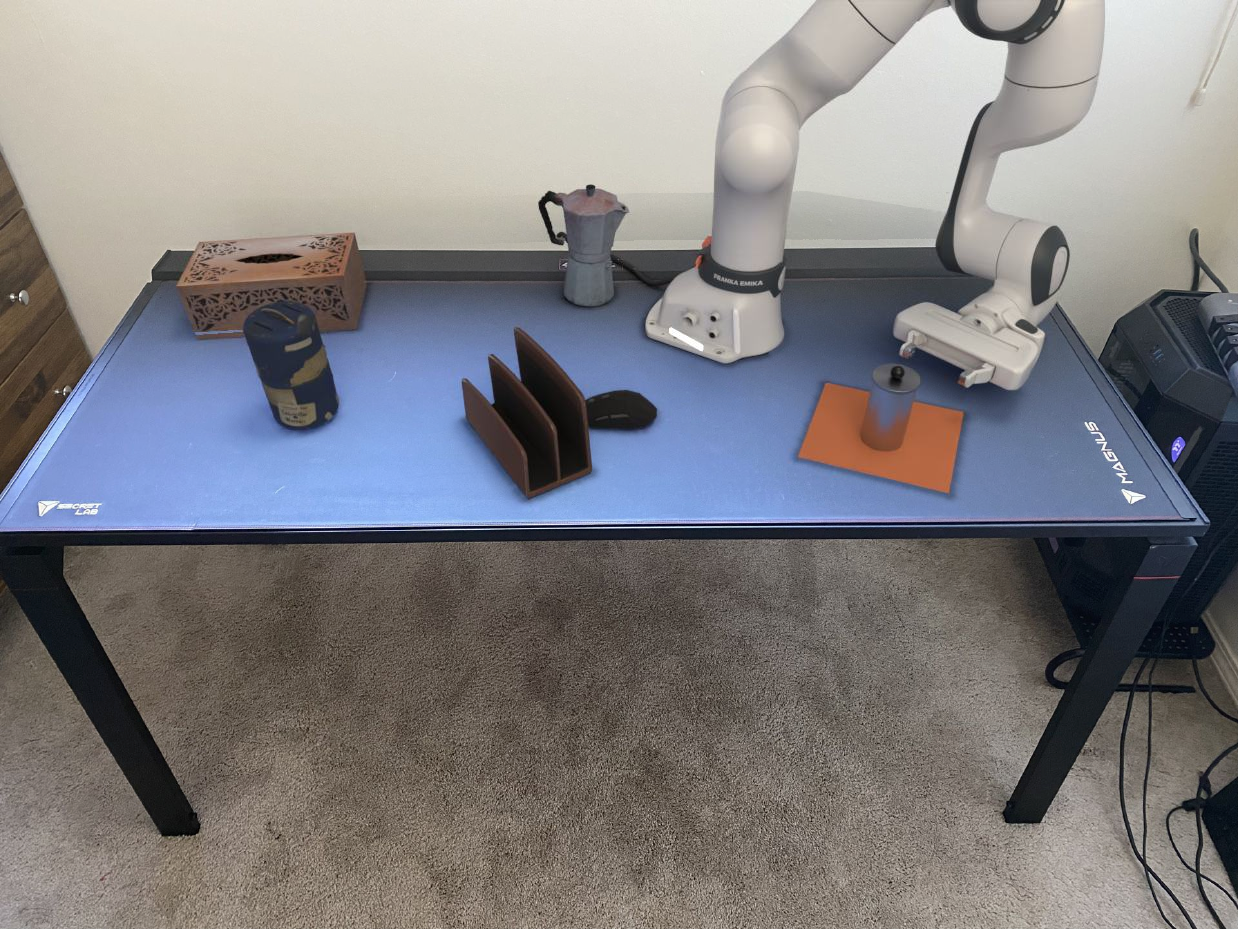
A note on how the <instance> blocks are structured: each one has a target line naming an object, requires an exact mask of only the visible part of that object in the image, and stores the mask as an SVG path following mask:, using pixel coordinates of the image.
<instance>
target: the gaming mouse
mask: <svg viewBox="0 0 1238 929" xmlns="http://www.w3.org/2000/svg"><path fill="white" fill-rule="evenodd" d="M585 401H586V412H587V421H588V427H589V429H603V430H604V429H607V430H608V429H609V430H622V431H623V430H625V431H627V430H628V431H633V430H638V429H643V428H646V427H648V426H650V424H652V423H653V422H654V421H655V420H656V418H657V417H658V408H657V406H655V405H654V404H653V403H652V402H651V401H650V400H648V399H647V397H645V396H644V395H643V394H642V393H640V392H637V391H633V390H629V389H618V390H617V389H615V390H610V391H606V392H603V393H602V392H601V393H599V394H596V395H593V396H590V397H588V398H585Z"/></svg>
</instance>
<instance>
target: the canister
mask: <svg viewBox="0 0 1238 929" xmlns="http://www.w3.org/2000/svg"><path fill="white" fill-rule="evenodd" d="M243 332H244V335H245V337H244V338H245V342H246V344H247V347H248V349H249V353H250V355H251V358H252V361H253V363H254V367H255V370H256V372H257V375H258V378H259V380H260V382H261V386H262V389H263V391H264V394H265V397H266V399H267V402H268V405H269V408H270V411H271V414H272V416H273V418H274V420H275V421H276V423H277V424H278V425H280V426H281V427H283V428H285V429H288V430H292V431H307V430H312V429H315V428H318V427H321V426H323V425H324V424H326V423H327V422H330V420H332V419H333V418H334V417H335V415H336V414H337V413H338V410H339V407H340V399H339V395H338V392H337V388H336V385H335V379H334V374H333V372H332V368H331V365H330V360H329V358H328V352H327V351H326V345H325V344H324V342H323V338H322V335H321V332H320V331H319V328H318V324H317V320H316V317H315V314H314V313H313V311H312V310H311V309H310V308H309V307H308V306H306V305H304V304H302V303H298V302H293V301H281V302H274V303H270V304H267V305H264V306H262V307H260V308H258V309H256V310H254V311H253V312H252V313H250V314H249V315H248V317H247V318H246V319H245V321H244V325H243Z"/></svg>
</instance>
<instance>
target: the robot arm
mask: <svg viewBox="0 0 1238 929" xmlns="http://www.w3.org/2000/svg"><path fill="white" fill-rule="evenodd" d="M949 7H951V9H952V11H953V12H954V14H955V15H956V16H957V18H958V20H959V22H960V23H961V25H962V26H963V27H964V28H965V30H967V31H969V32H970V33H972V34H973V35H974V36H977V37H979V38H981V39H985V40H989V41H994V42H995V41H996V42H1005V43H1007V54H1006V60H1005V66H1004V75H1003V80H1002V85H1001V87H1000V90H999V92H998V94H997V96H996V97H995V99H994V100H993V101H990V102H988V103H985V105H983V106H982V107H981V109H980V110H979V111H978V113H977V114H976V116H975V119H974V120H973V123H972V125H971V127H970V130H969V133H968V135H967V139H966V142H965V145H964V149H963V153H962V156H961V159H960V163H959V166H958V170H957V174H956V178H955V182H954V185H953V189H952V192H951V195H950V196H951V197H950V200H949V204H948V207H947V209H946V212H945V214H944V217H943V220H942V222H941V224H940V227H939V229H938V232H937V235H936V239H935V251H936V252H935V253H936V255H937V257H938V259H939V261H940V263H941V264H942V266H943V268H944V269H945V271H948V272H951V273H956V274H962V275H967V276H975V277H978V278H982V279H985V280H988V281H992V282H993V283H994V284H993V285H992V286H991V287H990V288H989V289H988V290H987V291H986V292H984V293H982V294H979V295H978V296H977V297H975V298H974V299H972V300H971V301H970V302H968V303H967V304H966V305H964V306H962V307H961V308H960V309H959V310H958V311H957V312H955V311H952V310H950V309H947V308H945V307H943V306H941V305H939V304H936V303H933V302H928V301H926V302H925V301H924V302H920V303H917V304H915V305H912V306H910V307H907V308H906V309H904V310H902V311H900V312H899V313H898V314H896V317H895V319H894V323H893V328H892V334H893V337H894V338H896V339H897V340H900V341H902V342H904V343H903V344H902V345H901V346H900V348H899V352H898V355H899V356H900V357H902V358H905V359H906V360H910V359H911V358H912V357H914V356H915V354H916V349H919V350H922V351H924V352H925V353H928V354H929V355H931V356H934V357H936V358H937V359H940V360H942V361H945V362H947V363H949V364H951V365H953V366H955V367H957V368H959V369H961V370H963V371H962V372H961V373H960V374H959V376H958V381H957V384H958V385H961V386H963V387H965V388H966V389H969V387H971V386H973V385H977V384H986V383H989V382H990V383H991V384H994V385H995V386H998V387H1000V388H1002V389H1004V390H1005V391H1017V390H1019V389H1020V388H1021V387H1022V386H1023V385H1025V384H1026V382H1027V381H1028V379H1029V378H1030V376H1031V374H1032V373H1031V372H1032V371H1033V369H1034V368H1035V366H1036V364H1037V362H1038V360H1039V357H1040V355H1041V352H1042V349H1043V346H1044V342H1045V336H1046V333H1045V331H1043V330H1042V329H1040V328H1039V327H1037V326H1038V325H1039V324H1041V322H1043V321H1044V320H1045V318H1047V316H1048V315H1049V314H1050V313H1051V311H1052V310H1053V309H1054V307H1055V306H1056V304H1057V302H1058V300H1059V298H1060V294H1061V287H1062V285H1063V283H1064V282H1065V281H1064V280H1065V278H1066V275H1067V272H1068V269H1069V263H1070V258H1071V253H1070V247H1069V244H1068V242H1067V237H1065V234H1064V232H1063V231H1062V229H1061V228H1060V227H1059V226H1057V225H1054V224H1050V223H1047V222H1043V221H1038V220H1035V219H1031V218H1027V217H1021V216H1015V215H1013V214H1008V213H1003V212H1000V211H995V210H994V209H992V208H991V207H990V206H989V205H988V203H987V198H988V194H989V191H990V188H991V184H992V181H993V178H994V174H995V171H996V169H997V168H996V167H997V164H998V161H999V158H1000V156H1001V155H1002V154H1003V153H1006V152H1011V151H1014V150H1018V149H1023V148H1029V147H1034V146H1040V145H1042V144H1045V143H1048V142H1051V141H1054V140H1056V139H1058V138H1060V137H1062V136H1064V135H1066V134H1068V133H1069V132H1071V131H1072V130H1074V129H1075V128H1076V127H1077V126H1078V125H1079V124H1080V123H1081V122H1082V121H1083V120H1084V119H1085V117H1086V116H1087V114H1088V113H1089V111H1090V110H1091V107H1092V104H1093V102H1094V99H1095V95H1096V92H1097V87H1098V82H1099V77H1100V71H1101V65H1102V59H1103V51H1104V44H1105V32H1106V30H1105V28H1106V0H815V1H814V2H813V4H812V5H810V7H809V8H808V9H807V10H806V12H805V13H803V15H802V16H801V17H800V18H799V19H798V20H797V21H796V22H795V24H794V25H793V26H791V28H790V29H788V31H786V32H785V34H784V35H783V36H781V38H779V39H778V40H777V41H776V42H774V43H773V44H772V45H771V46H770V47H768V48H767V50H765V51H764V52H763V53H762V54H761V55H759V57H758V58H757V59H755V60H754V61H753V62H752V63H751V64H750V65H749V66H748V67H747V68H746V69H745V70H744V71H742V72H741V73H740V74H739V75H738V76H737V77H736V78H735V79H734V80H733V81H732V83H731V84H730V85H729V86H728V88H727V89H726V91H725V93H724V95H723V97H722V101H721V106H720V113H719V119H718V123H717V129H716V130H717V131H716V136H715V144H714V145H715V146H714V172H713V201H712V202H713V203H712V204H713V205H712V206H713V207H712V208H713V209H712V222H711V235H708V236H706V238H704V241H703V242H702V243H701V248H700V250H699V251H698V253H697V258H696V259H695V266H694V267H692V268H689V269H688V270H686V271H683V272H681V273H679V274H677V273H676V274H675V275H674V276H675V277H667V278H662V279H659V280H654V279H650V278H648V277H647V276H645V275H644V274H643V273H642V272H641V270H640V269H638V268H637V267H636V266H635V265H633V264H631V263H630V262H628V261H626V260H624V259H622V258H621V257H619V256H616V255H615V254H612V253H611V254H610V258H611V261H613V262H615V263H617V264H619V265H621V266H623V267H625V269H627V270H629V271H631V272H632V273H633V274H634V275H635V276H637V278H638V279H640V280H641V282H643V283H644V284H647V285H649V286H653V287H660V286H664V285H668V286H667V287H666V289H665V291H664V293H663V295H662V297H661V298H660V299H658V301H657V302H655V304H654V305H653V306H652V308H651V309H650V310H649V312H648V314H647V316H646V319H645V325H644V331H645V335H646V336H647V337H648V338H649V339H652V340H655V341H657V342H660V343H663V344H666V345H670V346H672V347H675V348H678V349H680V350H683V351H687V352H690V353H693V354H695V355H698V356H700V357H704V358H706V359H709V360H712V361H715V362H718V363H720V364H731V363H733V362H736V361H738V360H740V359H742V358H748V357H755V356H760V355H764V354H766V353H769V352H770V351H772V350H774V349H775V348H777V347H778V346H779V345H780V344H781V343H782V342H783V340H784V338H785V329H784V324H783V319H782V318H783V317H782V309H781V308H782V307H781V306H782V305H781V304H782V303H781V292H782V290H783V289H784V284H785V277H786V270H787V266H786V261H787V255H786V252H785V246H786V238H787V237H786V236H787V228H788V222H789V221H788V220H789V215H790V214H789V213H790V206H791V201H792V195H793V189H794V184H795V176H796V170H797V164H798V158H799V150H800V131H801V129H802V128H803V125H804V124H805V123H806V122H807V120H809V118H811V117H812V116H813V115H814V114H815V113H817V112H818V111H819V110H821V109H822V108H824V107H825V106H827V104H829V103H830V102H831V101H833V100H835V99H837V98H838V97H840V96H843V95H846V94H848V93H849V92H851V91H852V90H853V89H854V88H855V87H856V86H857V85H858V84H859V83H860V82H861V81H862V80H863V79H864V78H865V77H866V75H868V74H869V73H870V72H871V71H872V70H873V69H874V68H875V67H876V65H878V64H879V62H881V61H882V59H884V57H885V56H886V55H887V54H888V53H889V52H890V51H891V50H892V49H893V48H894V47H896V45H897V44H898V43H899V42H900V41H901V40H902V39H903V38H904V37H905V36H906V34H908V33H909V31H910V30H911V29H912V28H913V27H914V26H915V25H916V23H917V22H920V21H921V20H923V19H924V18H925V17H926V16H928V15H930V14H932V13H934V12H936V11H938V10H940V9H944V8H949ZM555 235H556V238H557V239H560V238H562V239H563V240H564V242H565V243H566V244H567V245H568V241H567V234H566V232H565V231H559V232H558V233H557V234H555ZM618 259H619V260H618ZM633 268H636V269H637V270H638V271H637V270H635V269H633Z"/></svg>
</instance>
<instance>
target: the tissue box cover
mask: <svg viewBox="0 0 1238 929" xmlns="http://www.w3.org/2000/svg"><path fill="white" fill-rule="evenodd" d="M356 236H357V235H356V232H342V233H341V232H340V233H339V232H338V233H325V234H307V235H292V236H291V235H290V236H289V235H288V236H278V237H277V236H276V237H275V236H274V237H259V238H258V237H257V238H256V237H255V238H243V239H242V238H241V239H224V240H211V241H210V240H208V241H206V240H205V241H199V242H198V244H197V245H196V247H195V248H194V251H193V253H192V255H191V257H190V259H189V261H188V263H187V264H186V267H185V268H184V270H183V272H182V274H181V275H180V277H179V279H178V282H177V284H176V285H175V288H176V290H177V292H178V295H179V297H180V300H181V303H182V305H183V308H184V311H185V312H186V315H187V318H188V320H189V323H190V325H191V328H192V330H193V333H194V332H209V331H210V332H211V331H228V330H243V325H244V321H245V319H246V318H247V317H248V315H249V314H250V313H252V312H253V311H254V310H256V309H258V308H260V307H262V306H264V305H267V304H270V303H274V302H281V301H293V302H298V303H302V304H304V305H306V306H308V307H309V308H310V309H311V310H312V311H313V313H314V314H315V317H316V320H317V324H318V328H319V331H320V333H322V332H336V331H337V332H338V331H351V330H354V331H355V330H358V328H359V327H358V326H359V321H360V318H361V312H362V308H363V303H364V299H365V294H366V289H367V285H368V283H367V279H366V274H365V270H364V267H363V261H362V258H361V253H360V248H359V246H358V241H357V237H356ZM365 279H366V280H365ZM364 281H365V285H364ZM363 288H364V289H363ZM362 292H363V294H362ZM361 297H362V298H361ZM195 337H196V340H197V341H203V340H219V339H231V338H232V339H233V338H245V335H244V332H233V333H218V334H203V335H195Z"/></svg>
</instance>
